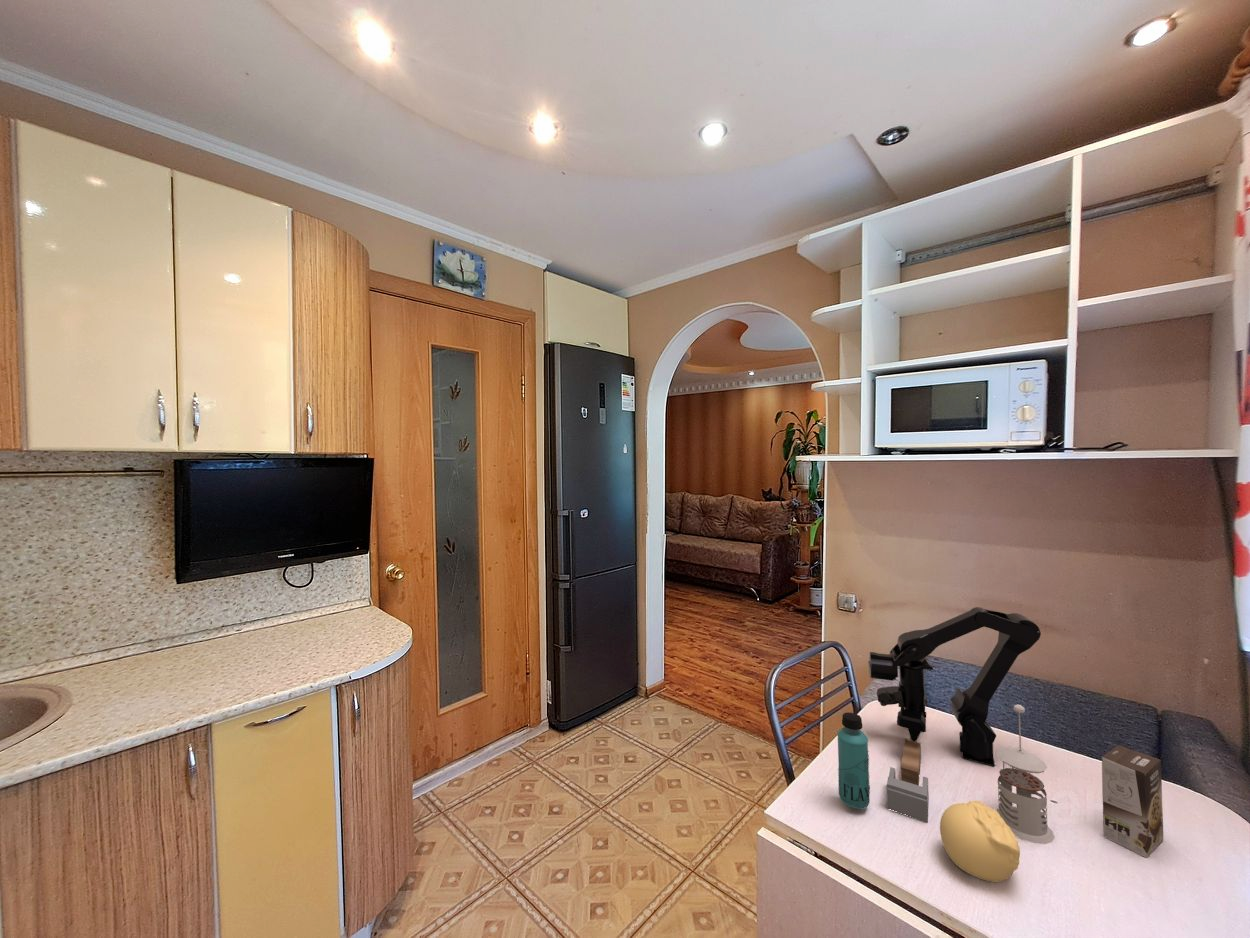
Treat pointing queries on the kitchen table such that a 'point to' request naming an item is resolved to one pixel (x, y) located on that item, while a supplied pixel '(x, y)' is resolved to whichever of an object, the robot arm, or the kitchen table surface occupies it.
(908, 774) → the slat
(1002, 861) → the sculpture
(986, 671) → the robot arm
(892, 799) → the endcap
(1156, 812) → the coffee box
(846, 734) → the beverage bottle
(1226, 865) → the kitchen table surface
